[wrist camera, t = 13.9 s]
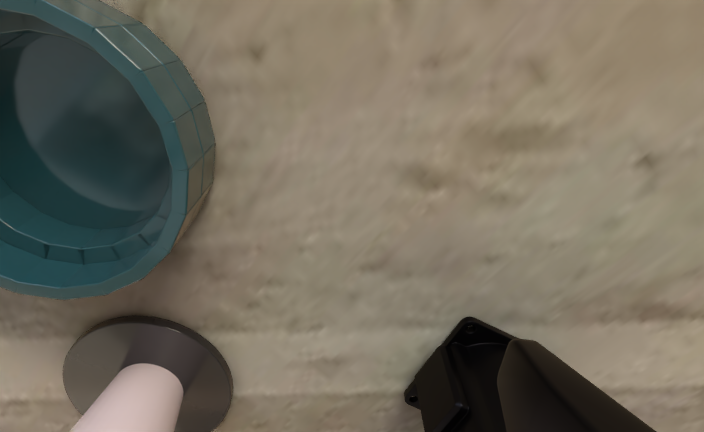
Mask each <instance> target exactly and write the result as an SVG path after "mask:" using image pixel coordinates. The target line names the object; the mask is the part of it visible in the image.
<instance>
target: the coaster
mask: <svg viewBox="0 0 704 432" xmlns="http://www.w3.org/2000/svg"><path fill="white" fill-rule="evenodd" d="M140 363H146V364H153V365H157V366H160V367H163V368H165V369H167V370H168V371H170V372H171V373H173V374H174V375H175V376H176V377H177V378H178V380H179V381H180V383H181V385H182V387H183V399H182V403H181V406H180V410H179V414H178V418H177V422H176V426H175V430H174V432H211V431H212V430H214V429H215V428H216V427H217V426H218V425H219V424H220V423H221V421H222V420H223V419H224V417H225V416H226V414H227V411H228V409H229V406H230V403H231V399H232V395H233V380H232V376H231V372H230V370H229V367H228V365H227V363H226V361H225V360H224V358H223V357H222V355H221V354H220V353H219V351H218V350H217V349H216V348H215V347H214V346H213V345H212V344H211V343H210V342H209V341H207V340H206V339H205V338H203V337H202V336H201V335H199V334H198V333H196V332H194V331H193V330H191V329H189V328H187V327H185V326H183V325H180V324H178V323H175V322H172V321H169V320H165V319H160V318H155V317H148V316H127V317H120V318H114V319H111V320H108V321H104V322H102V323H100V324H98V325H96V326H93V327H92V328H90V329H89V330H87V331H86V332H85V333H84V334H83V335H82V336H81V337H79V339H78V340H77V341H76V342H75V343H74V345H73V346H72V347H71V349H70V350H69V352H68V354H67V356H66V358H65V362H64V366H63V382H64V386H65V390H66V392H67V394H68V397H69V399H70V400H71V402H72V403H73V405H74V406H75V408H76V409H77V410H78V411H79V412H80V414H82V415H84V414H85V412H86V411H87V410H88V409H89V408H90V406H91V405H92V404H93V403H94V402H95V401H96V399H97V398H98V397H99V396H100V395H101V393H102V392H103V391H104V390H105V389H106V387H107V386H108V385H109V384H110V383H111V382H112V380H113V379H114V378H115V377H116V376H117V374H118V373H119V372H120V371H121V370H122V369H124V368H125V367H128V366H130V365H133V364H140Z"/></svg>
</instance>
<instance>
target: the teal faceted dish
mask: <svg viewBox="0 0 704 432" xmlns="http://www.w3.org/2000/svg"><path fill="white" fill-rule="evenodd" d="M204 101H205V100H204V98H203V96H202V95H201V93H200V91H199V90H198V88H197V86H196V85H195V83H194V81H193V80H192V78H191V76H190V75H189V73H188V71H187V70H186V68H185V66H184V65H183V63H182V61H181V60H180V59H179V58H178V57H177V56H176V55H175V54H174V53H173V52H172V51H171V50H170V49H169V48H168V47H167V46H166V45H165V44H164V43H163V42H162V41H161V40H160V39H159V38H158V37H156V36H155V35H154V34H153V33H152V32H151V31H150V30H149V29H148V28H147V27H146V26H145V25H143V24H142V23H141V22H139V21H137V20H135V19H133V18H131V17H129V16H128V15H126V14H124V13H122V12H120V11H118V10H116V9H115V8H113V7H111V6H109V5H107V4H105V3H103V2H102V1H100V0H0V287H1V288H4V289H6V290H9V291H11V292H14V293H17V294H23V295H30V296H37V297H43V298H50V299H57V300H70V299H79V298H87V297H96V296H104V295H108V294H110V293H112V292H114V291H117V290H119V289H121V288H124V287H126V286H128V285H130V284H133V283H135V282H137V281H139V280H142V279H143V278H144V277H145V276H146V275H147V274H148V273H150V272H151V271H152V270H153V269H154V268H155V267H156V266H157V265H158V264H159V263H160V262H161V261H162V260H163V259H164V258H165V257H166V256H167V255H168V254H169V253H170V252H171V250H172V249H173V248H174V246H175V245H176V244H177V242H178V241H179V239H180V238H181V237H182V235H183V234H184V232H185V231H186V229H187V228H188V227H189V225H190V224H191V223H192V221H193V220H194V218H195V217H196V216H197V214H198V213H199V211H200V209H201V207H202V205H203V203H204V200H205V198H206V196H207V194H208V191H209V189H210V187H211V185H212V183H213V176H214V161H215V147H216V144H215V138H214V134H213V130H212V126H211V123H210V119H209V115H208V111H207V107H206V103H205V102H204Z"/></svg>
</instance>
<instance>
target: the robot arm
mask: <svg viewBox="0 0 704 432" xmlns="http://www.w3.org/2000/svg"><path fill="white" fill-rule="evenodd" d="M471 325H472V326H473V327H471V328H467V327H468V326H471ZM411 396H415V397H411ZM404 397H405V402H406V403H407V404H408V405H411V406H413V407H415V408H418V409H420V410H421V414H422V420H423V425H424V430H425V432H656V431H655V430H653V429H652V428H651V427H649V426H648V425H647V424H645V423H644V422H643V421H641V420H640V419H639V418H637V417H636V416H635V415H633V414H632V413H631V412H629V411H628V410H627V409H625V408H624V407H623V406H621V405H620V404H619V403H617V402H616V401H615V400H613V399H612V398H611V397H609V396H608V395H607V394H605V393H604V392H603V391H601V390H600V389H599V388H598V387H596V386H595V385H594V384H592V383H591V382H590V381H588V380H587V379H586V378H584V377H583V376H582V375H580V374H579V373H578V372H576V371H575V370H574V369H572V368H571V367H570V366H568V365H567V364H566V363H564V362H563V361H562V360H560V359H559V358H558V357H556V356H555V355H554V354H552V353H551V352H550V351H548V350H547V349H546V348H544V347H543V346H542V345H540V344H539V343H538V342H536V341H533V340H524V339H518V338H516V337H514V336H512V335H510V334H508V333H506V332H503V331H501V330H499V329H497V328H495V327H493V326H491V325H489V324H487V323H484V322H482V321H480V320H478V319H476V318H474V317H466V318H464V319H462V320H461V321H460V323H459V324H458V325H457V326H456V328H455V329H454V330H453V331H452V333H451V334H450V335H449V336H448V338H447V339H446V340H445V341H444V343H443V344H442V345H441V346H439V347H438V348H437V349H436V350H435V352H434V353H433V354H432V355H431V357H430V358H429V359H428V360H427V362H426V363H425V364H424V365H423V367H422V368H421V369H420V371H419V372H418V373H417V374H416V376H415V379H414V380H413V381H412V383H411V384H410V385H409V386H408V388H407V389H406V390H405V392H404Z"/></svg>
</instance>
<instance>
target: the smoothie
mask: <svg viewBox="0 0 704 432" xmlns="http://www.w3.org/2000/svg"><path fill="white" fill-rule="evenodd" d="M182 399H183V387H182V385H181V383H180V381H179V380H178V378H177V377H176V376H175V375H174V374H173V373H171V372H170V371H168V370H167V369H165V368H163V367H160V366H157V365H153V364H146V363H140V364H133V365H130V366H128V367H125V368H124V369H122V370H121V371H120V372H119V373H118V374H117V376H116V377H115V378H114V379H113V380H112V382H111V383H110V384H109V385H108V386H107V387H106V389H105V390H104V391H103V392H102V393H101V395H100V396H99V397H98V398H97V399H96V401H95V402H94V403H93V404H92V405H91V406H90V408H89V409H88V410H87V411H86V412H85V414H84V415H83V416H82V417H81V418H80V420H79V421H78V422H77V423H76V424H75V425H74V427H73V428H72V429H71V430H70V431H69V432H174V430H175V426H176V422H177V418H178V414H179V410H180V406H181V403H182Z"/></svg>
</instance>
